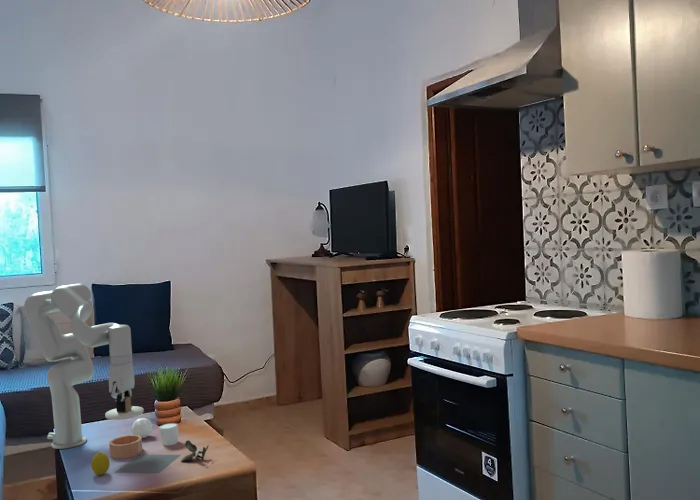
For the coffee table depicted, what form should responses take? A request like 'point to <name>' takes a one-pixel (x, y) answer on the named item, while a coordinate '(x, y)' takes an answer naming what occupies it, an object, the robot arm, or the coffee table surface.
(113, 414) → the lid
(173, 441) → the shot glass
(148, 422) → the geometric ball
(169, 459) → the mat
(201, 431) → the coffee table surface
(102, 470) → the lemon
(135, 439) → the bowl
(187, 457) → the eagle figurine
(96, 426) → the coffee table surface
